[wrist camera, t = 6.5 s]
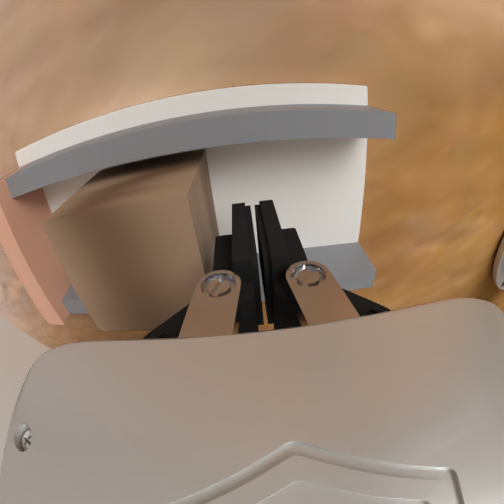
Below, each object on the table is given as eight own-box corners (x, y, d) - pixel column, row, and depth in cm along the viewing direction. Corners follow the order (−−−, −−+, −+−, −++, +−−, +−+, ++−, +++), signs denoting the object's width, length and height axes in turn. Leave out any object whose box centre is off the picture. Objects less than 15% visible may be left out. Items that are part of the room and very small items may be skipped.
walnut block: (205, 149, 13) (187, 195, 8) (221, 248, 16) (218, 326, 12) (100, 170, 13) (42, 223, 8) (130, 258, 16) (99, 330, 12)
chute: (359, 85, 12) (409, 92, 8) (349, 261, 19) (374, 311, 15) (23, 147, 12) (-25, 176, 8) (79, 288, 19) (56, 334, 15)
